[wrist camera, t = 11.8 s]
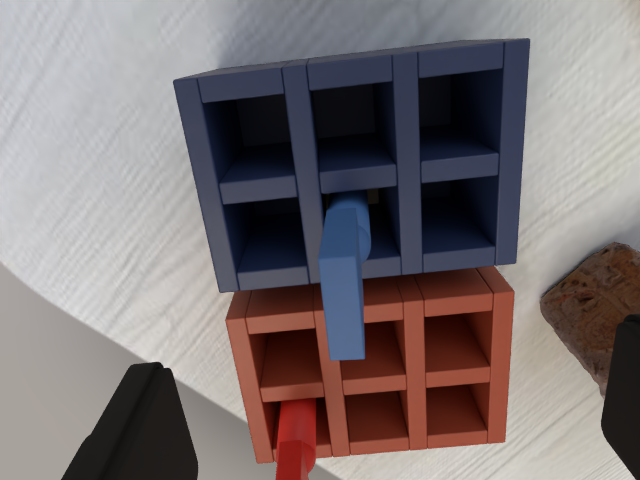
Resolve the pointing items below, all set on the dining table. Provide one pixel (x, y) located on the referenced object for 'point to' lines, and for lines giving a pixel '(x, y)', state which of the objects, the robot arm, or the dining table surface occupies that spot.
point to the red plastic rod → (296, 439)
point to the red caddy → (380, 363)
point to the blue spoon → (344, 272)
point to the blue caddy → (360, 158)
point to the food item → (595, 306)
